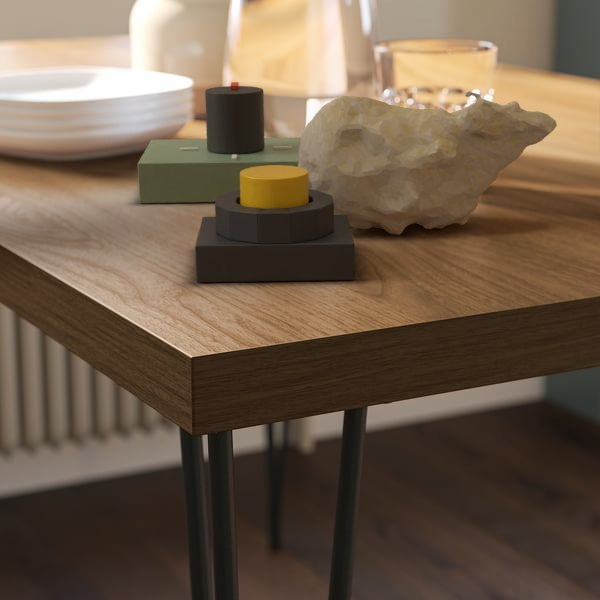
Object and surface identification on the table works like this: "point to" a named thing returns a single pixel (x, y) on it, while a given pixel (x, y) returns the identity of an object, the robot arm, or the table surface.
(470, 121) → the cream lumpy rock
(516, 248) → the table surface
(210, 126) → the dial
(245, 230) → the button housing
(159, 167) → the dial panel
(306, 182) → the trigger button
